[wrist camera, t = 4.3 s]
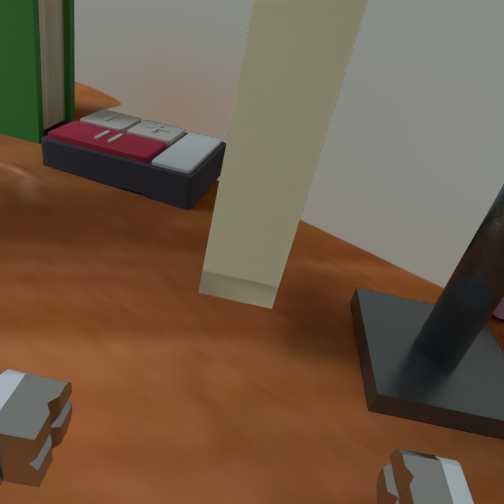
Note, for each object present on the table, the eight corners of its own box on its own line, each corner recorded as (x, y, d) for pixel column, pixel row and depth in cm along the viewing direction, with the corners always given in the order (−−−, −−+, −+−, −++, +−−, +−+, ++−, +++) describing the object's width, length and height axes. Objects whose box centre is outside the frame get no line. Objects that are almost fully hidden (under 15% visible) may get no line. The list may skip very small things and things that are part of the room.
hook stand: (95, 352, 25) (113, -231, 12) (145, 256, 34) (185, -149, 21) (531, 444, 26) (947, -3, 14) (473, 330, 35) (698, -13, 22)
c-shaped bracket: (198, 292, 23) (299, -243, 13) (221, 216, 31) (297, -164, 20) (271, 308, 24) (432, -206, 13) (277, 228, 31) (382, -141, 20)
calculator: (100, 104, 50) (228, 135, 48) (101, 142, 52) (223, 172, 50) (37, 130, 40) (193, 169, 39) (41, 173, 43) (189, 212, 41)
